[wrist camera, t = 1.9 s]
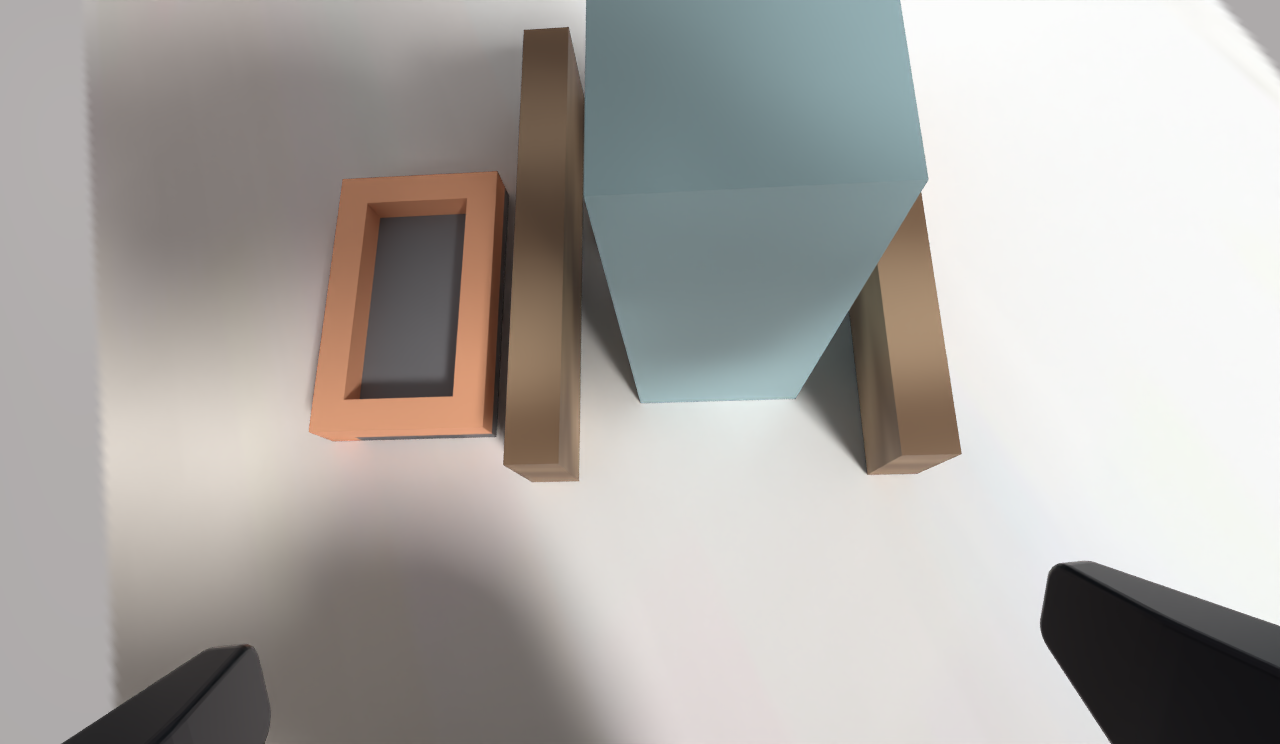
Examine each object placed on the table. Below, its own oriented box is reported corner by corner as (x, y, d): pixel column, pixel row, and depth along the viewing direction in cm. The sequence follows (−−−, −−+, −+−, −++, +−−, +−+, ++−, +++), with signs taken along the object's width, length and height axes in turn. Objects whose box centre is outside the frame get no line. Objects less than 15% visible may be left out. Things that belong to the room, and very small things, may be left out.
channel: (917, 473, 21) (961, 453, 17) (532, 481, 21) (503, 464, 18) (864, 82, 25) (892, 5, 21) (545, 101, 26) (523, 29, 22)
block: (795, 398, 22) (928, 179, 10) (640, 402, 22) (583, 196, 10) (783, 258, 23) (886, -84, 11) (639, 264, 23) (587, -63, 11)
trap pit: (495, 436, 22) (482, 427, 20) (333, 440, 22) (308, 431, 21) (508, 194, 24) (497, 171, 23) (362, 202, 25) (342, 179, 23)
